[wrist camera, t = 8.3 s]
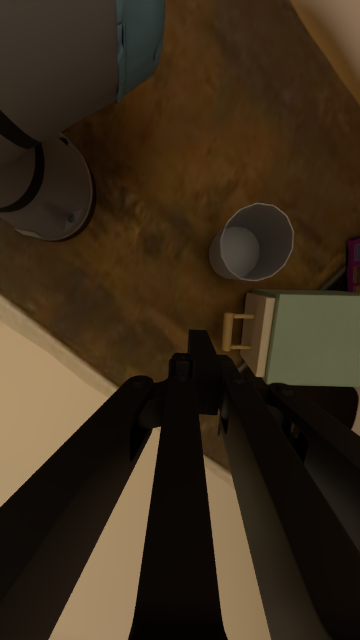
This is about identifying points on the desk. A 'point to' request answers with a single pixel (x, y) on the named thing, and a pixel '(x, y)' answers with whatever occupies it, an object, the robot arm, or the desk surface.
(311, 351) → the cabinet
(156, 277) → the desk surface
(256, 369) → the drawer
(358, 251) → the candy bar box
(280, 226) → the cup
